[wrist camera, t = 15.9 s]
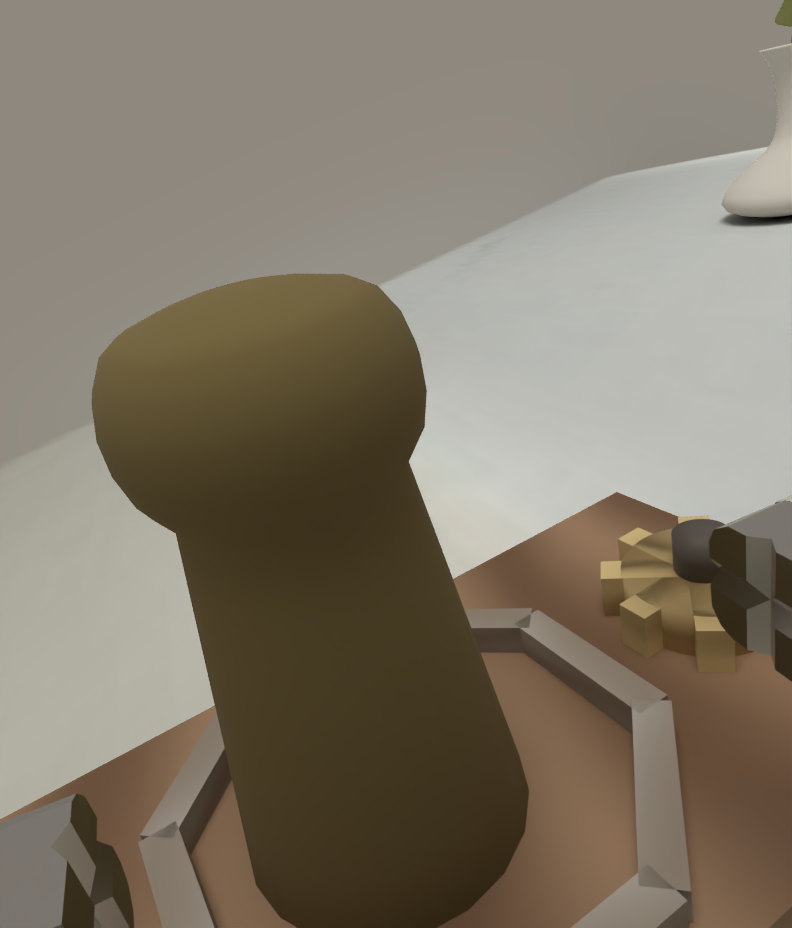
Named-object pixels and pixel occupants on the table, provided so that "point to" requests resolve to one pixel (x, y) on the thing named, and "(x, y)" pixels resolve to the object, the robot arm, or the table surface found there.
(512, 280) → the table surface
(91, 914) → the robot arm
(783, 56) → the flower in vase
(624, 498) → the gear board
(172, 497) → the cork
